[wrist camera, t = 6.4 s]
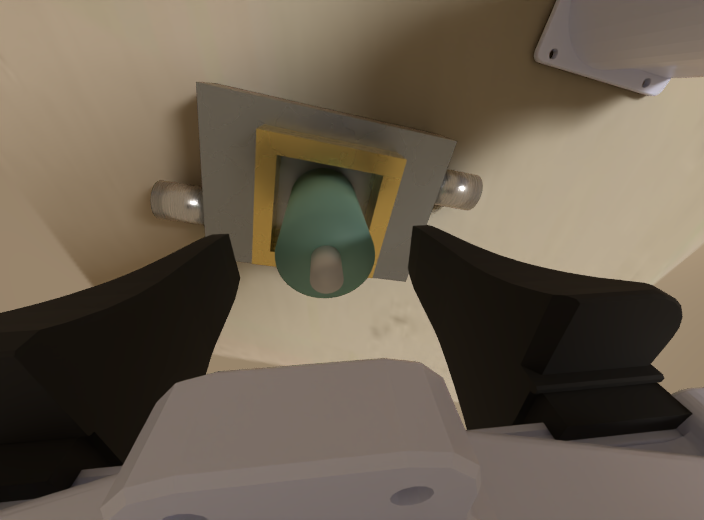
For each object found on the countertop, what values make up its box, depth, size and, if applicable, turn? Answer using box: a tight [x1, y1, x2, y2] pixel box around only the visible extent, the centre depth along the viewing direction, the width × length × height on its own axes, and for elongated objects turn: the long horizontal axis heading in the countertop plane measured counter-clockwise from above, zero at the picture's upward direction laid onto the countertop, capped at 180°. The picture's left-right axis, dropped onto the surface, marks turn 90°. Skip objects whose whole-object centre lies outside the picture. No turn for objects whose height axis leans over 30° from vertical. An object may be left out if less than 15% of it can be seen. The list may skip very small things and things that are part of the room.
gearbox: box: [151, 82, 483, 282], centre depth 18 cm, size 20×10×5 cm, turn 78°
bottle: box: [275, 168, 375, 298], centre depth 14 cm, size 4×4×8 cm
